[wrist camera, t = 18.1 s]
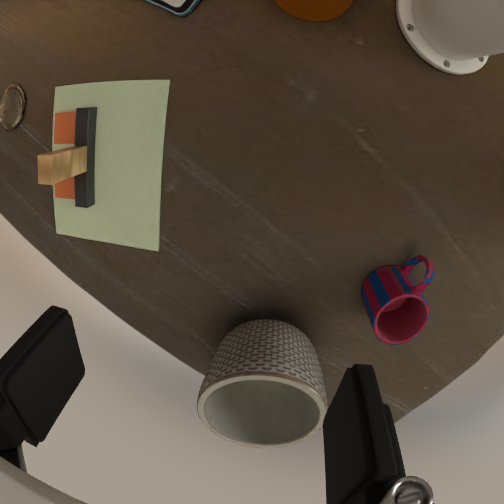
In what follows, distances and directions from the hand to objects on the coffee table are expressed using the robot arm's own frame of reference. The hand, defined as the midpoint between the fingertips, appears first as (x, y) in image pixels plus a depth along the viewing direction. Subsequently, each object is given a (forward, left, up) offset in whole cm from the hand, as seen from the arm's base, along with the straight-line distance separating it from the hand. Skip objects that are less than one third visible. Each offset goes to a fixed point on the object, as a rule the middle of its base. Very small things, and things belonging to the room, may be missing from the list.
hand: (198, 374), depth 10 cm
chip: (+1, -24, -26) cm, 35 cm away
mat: (-1, -19, -26) cm, 32 cm away
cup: (+8, +18, -26) cm, 33 cm away
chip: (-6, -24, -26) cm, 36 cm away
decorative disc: (-9, -36, -26) cm, 46 cm away
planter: (+20, +4, -26) cm, 33 cm away
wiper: (-2, -21, -26) cm, 33 cm away
